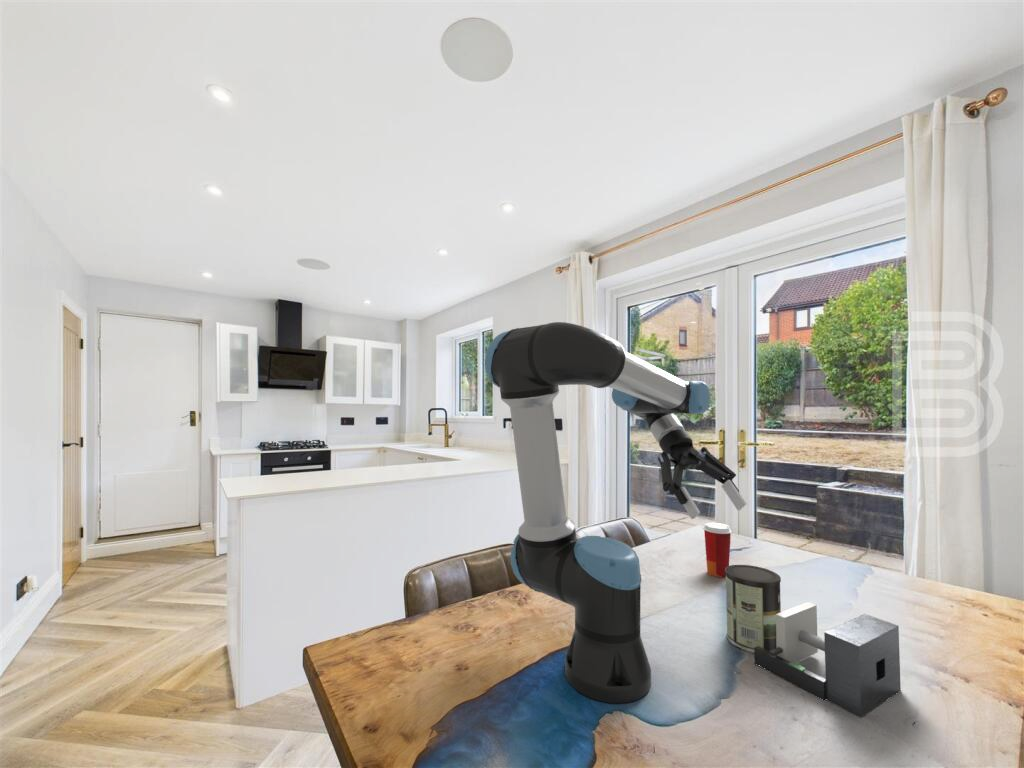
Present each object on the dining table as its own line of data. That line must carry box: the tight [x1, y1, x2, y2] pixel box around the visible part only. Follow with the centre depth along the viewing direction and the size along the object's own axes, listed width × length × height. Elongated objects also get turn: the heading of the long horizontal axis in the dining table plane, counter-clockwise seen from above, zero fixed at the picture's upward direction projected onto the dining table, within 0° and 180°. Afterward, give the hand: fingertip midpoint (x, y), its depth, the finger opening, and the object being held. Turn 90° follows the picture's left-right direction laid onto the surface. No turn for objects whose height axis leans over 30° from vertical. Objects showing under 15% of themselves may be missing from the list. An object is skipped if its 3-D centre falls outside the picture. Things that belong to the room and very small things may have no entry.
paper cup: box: [702, 522, 732, 578], centre depth 130 cm, size 8×8×14 cm
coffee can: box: [725, 564, 782, 654], centre depth 93 cm, size 10×10×14 cm
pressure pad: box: [769, 601, 825, 664], centre depth 80 cm, size 11×14×9 cm
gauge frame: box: [753, 613, 902, 719], centre depth 81 cm, size 17×15×11 cm
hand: (719, 511), depth 100 cm, fingers open, 13 cm apart
